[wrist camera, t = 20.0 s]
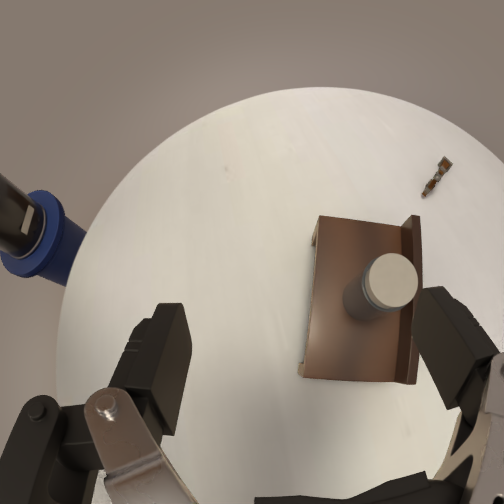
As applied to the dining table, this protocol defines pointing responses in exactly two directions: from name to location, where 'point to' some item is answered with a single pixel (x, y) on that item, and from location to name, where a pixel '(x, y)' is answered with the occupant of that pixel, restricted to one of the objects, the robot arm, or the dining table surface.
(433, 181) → the brown slender grey-tipped part
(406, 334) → the shelf
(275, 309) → the dining table surface
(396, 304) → the salt shaker
